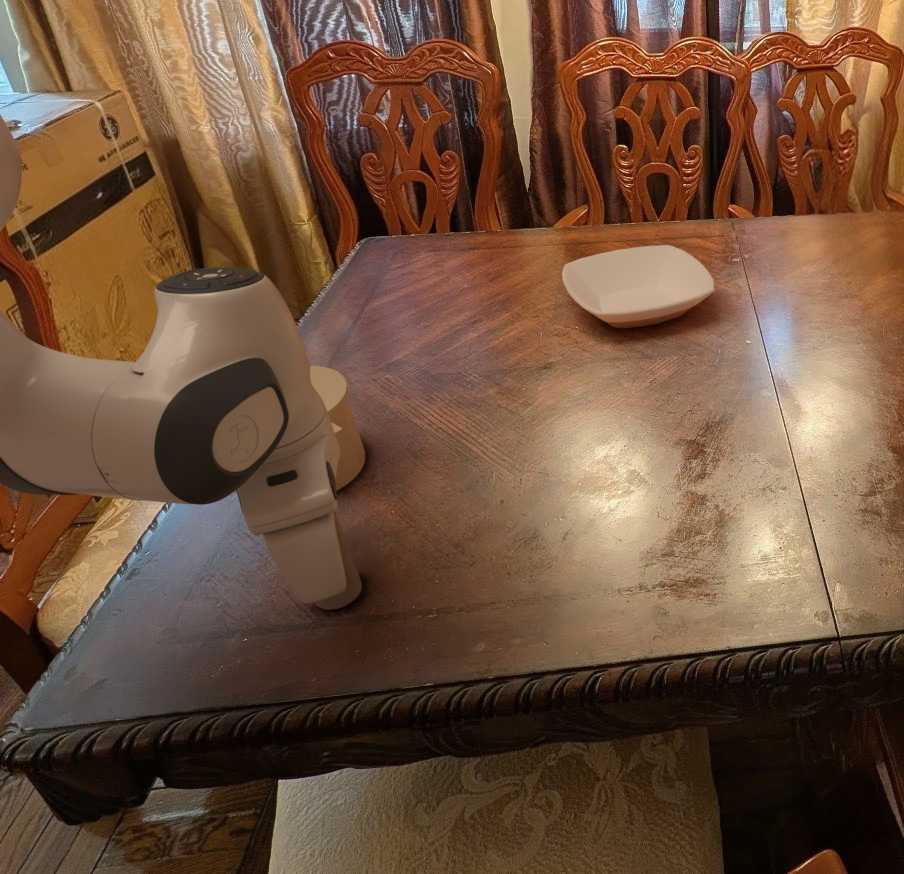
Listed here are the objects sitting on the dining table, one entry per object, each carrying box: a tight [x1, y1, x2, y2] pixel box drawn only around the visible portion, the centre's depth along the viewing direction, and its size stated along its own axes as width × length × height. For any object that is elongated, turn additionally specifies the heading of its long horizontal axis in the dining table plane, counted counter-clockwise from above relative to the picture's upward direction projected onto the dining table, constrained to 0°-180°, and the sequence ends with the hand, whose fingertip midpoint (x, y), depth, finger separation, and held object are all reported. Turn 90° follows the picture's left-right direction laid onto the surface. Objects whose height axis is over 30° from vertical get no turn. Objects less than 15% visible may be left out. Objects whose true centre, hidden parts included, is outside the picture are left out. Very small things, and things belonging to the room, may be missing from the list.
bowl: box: [561, 244, 716, 329], centre depth 122 cm, size 22×22×5 cm
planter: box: [314, 511, 363, 611], centre depth 75 cm, size 4×4×10 cm
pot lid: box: [310, 364, 349, 415], centre depth 87 cm, size 13×13×4 cm
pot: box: [328, 395, 366, 492], centre depth 91 cm, size 12×18×10 cm
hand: (327, 566), depth 75 cm, fingers closed on planter, 4 cm apart
